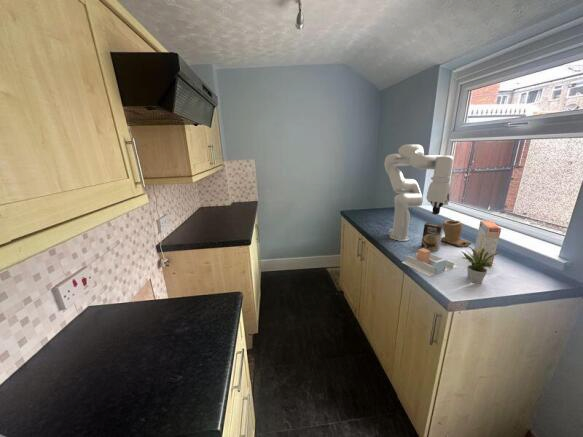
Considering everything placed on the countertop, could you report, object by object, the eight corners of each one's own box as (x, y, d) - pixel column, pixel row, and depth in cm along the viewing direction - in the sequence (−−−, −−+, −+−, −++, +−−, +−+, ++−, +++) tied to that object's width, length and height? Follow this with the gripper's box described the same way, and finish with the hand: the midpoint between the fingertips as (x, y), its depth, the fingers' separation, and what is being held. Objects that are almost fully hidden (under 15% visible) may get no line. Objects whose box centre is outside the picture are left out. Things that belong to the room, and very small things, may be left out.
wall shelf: (401, 263, 124) (402, 251, 122) (428, 256, 133) (430, 244, 131) (428, 277, 110) (430, 264, 108) (457, 268, 119) (460, 255, 117)
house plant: (486, 274, 112) (493, 243, 108) (504, 290, 99) (513, 255, 95) (453, 271, 116) (459, 241, 111) (466, 286, 103) (473, 252, 98)
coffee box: (420, 249, 142) (423, 224, 138) (423, 246, 147) (426, 221, 142) (437, 253, 136) (441, 227, 132) (439, 249, 141) (443, 224, 136)
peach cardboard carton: (416, 263, 122) (418, 249, 120) (421, 261, 124) (423, 248, 122) (422, 266, 119) (425, 252, 117) (428, 265, 120) (430, 250, 118)
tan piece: (435, 240, 155) (439, 219, 151) (449, 238, 159) (453, 217, 155) (457, 249, 141) (461, 225, 137) (471, 246, 145) (476, 223, 141)
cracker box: (492, 266, 119) (502, 228, 114) (478, 264, 122) (486, 226, 116) (485, 256, 131) (493, 220, 126) (472, 254, 134) (480, 219, 128)
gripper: (423, 179, 126) (418, 211, 131) (450, 182, 113) (444, 218, 118) (432, 178, 129) (427, 210, 134) (460, 181, 116) (454, 216, 121)
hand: (435, 213), depth 126 cm, fingers closed
